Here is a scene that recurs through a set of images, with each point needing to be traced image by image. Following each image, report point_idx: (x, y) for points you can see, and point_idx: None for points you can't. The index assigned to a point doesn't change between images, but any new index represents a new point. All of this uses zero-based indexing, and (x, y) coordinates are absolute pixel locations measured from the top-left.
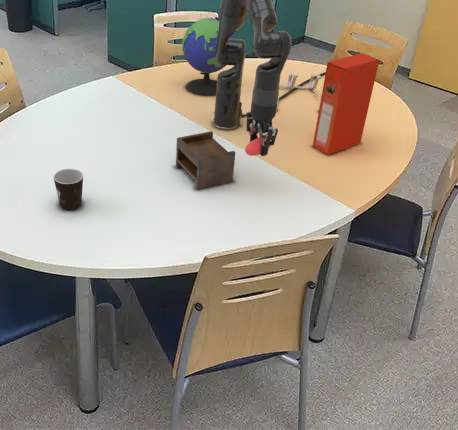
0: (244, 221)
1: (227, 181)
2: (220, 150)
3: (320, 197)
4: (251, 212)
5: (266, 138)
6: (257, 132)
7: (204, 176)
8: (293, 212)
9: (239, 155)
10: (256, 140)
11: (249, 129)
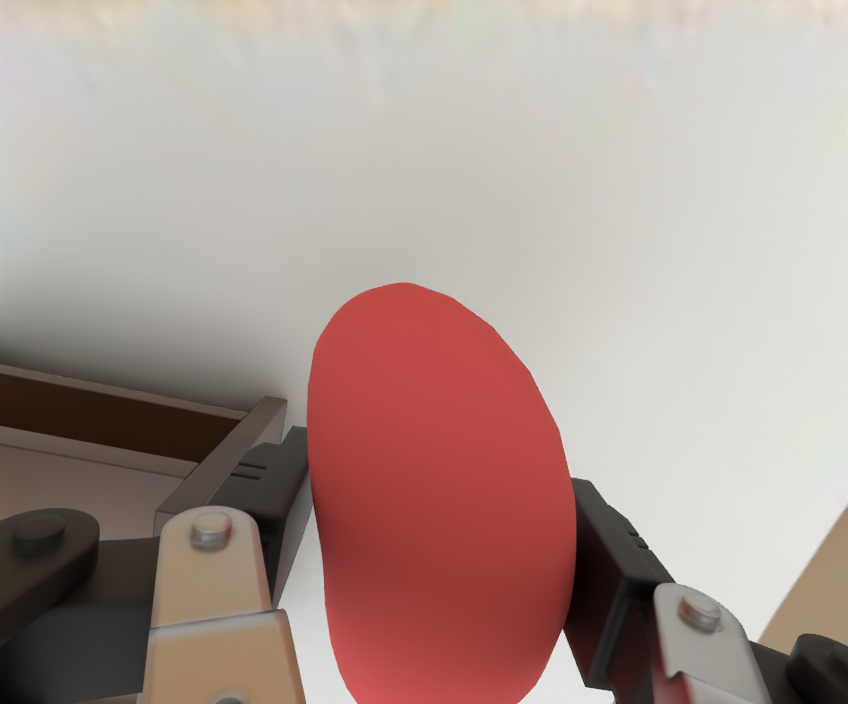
0: None
1: (278, 438)
2: (37, 503)
3: (772, 45)
4: None
5: (482, 469)
6: (261, 597)
7: None
8: (746, 336)
9: (3, 101)
10: (449, 702)
11: (66, 700)
